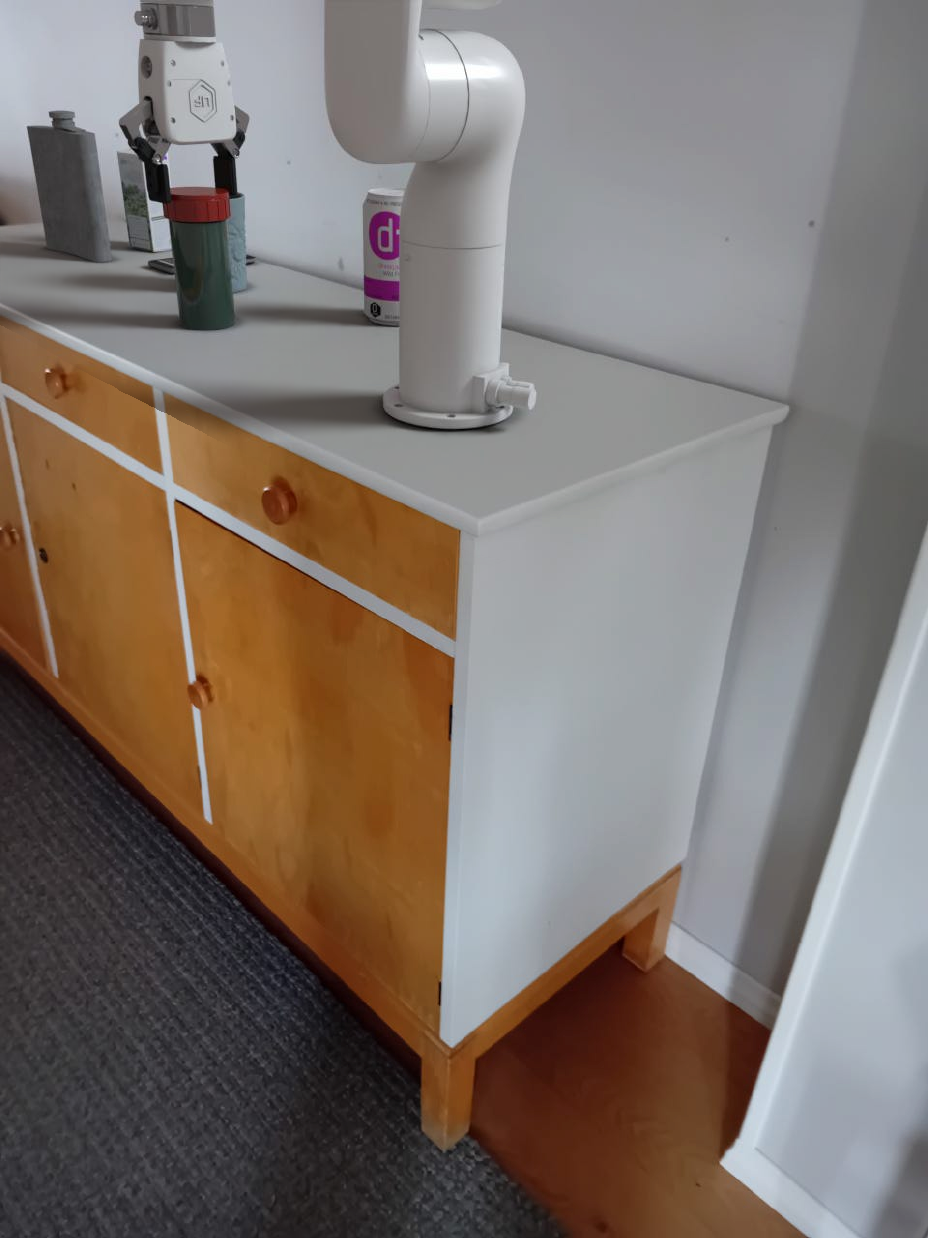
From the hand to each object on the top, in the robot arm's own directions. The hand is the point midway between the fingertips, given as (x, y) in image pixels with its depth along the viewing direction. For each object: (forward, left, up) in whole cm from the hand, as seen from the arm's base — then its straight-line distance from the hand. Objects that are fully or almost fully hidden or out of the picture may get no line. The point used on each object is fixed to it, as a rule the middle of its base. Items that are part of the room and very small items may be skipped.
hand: (194, 197), depth 115 cm
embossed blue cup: (+12, -16, -14) cm, 24 cm away
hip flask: (+43, -23, -14) cm, 51 cm away
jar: (0, 0, -14) cm, 14 cm away
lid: (0, 0, 0) cm, 0 cm away
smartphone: (+23, -27, -14) cm, 38 cm away
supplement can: (-18, -15, -14) cm, 28 cm away
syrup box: (+38, -33, -14) cm, 52 cm away
